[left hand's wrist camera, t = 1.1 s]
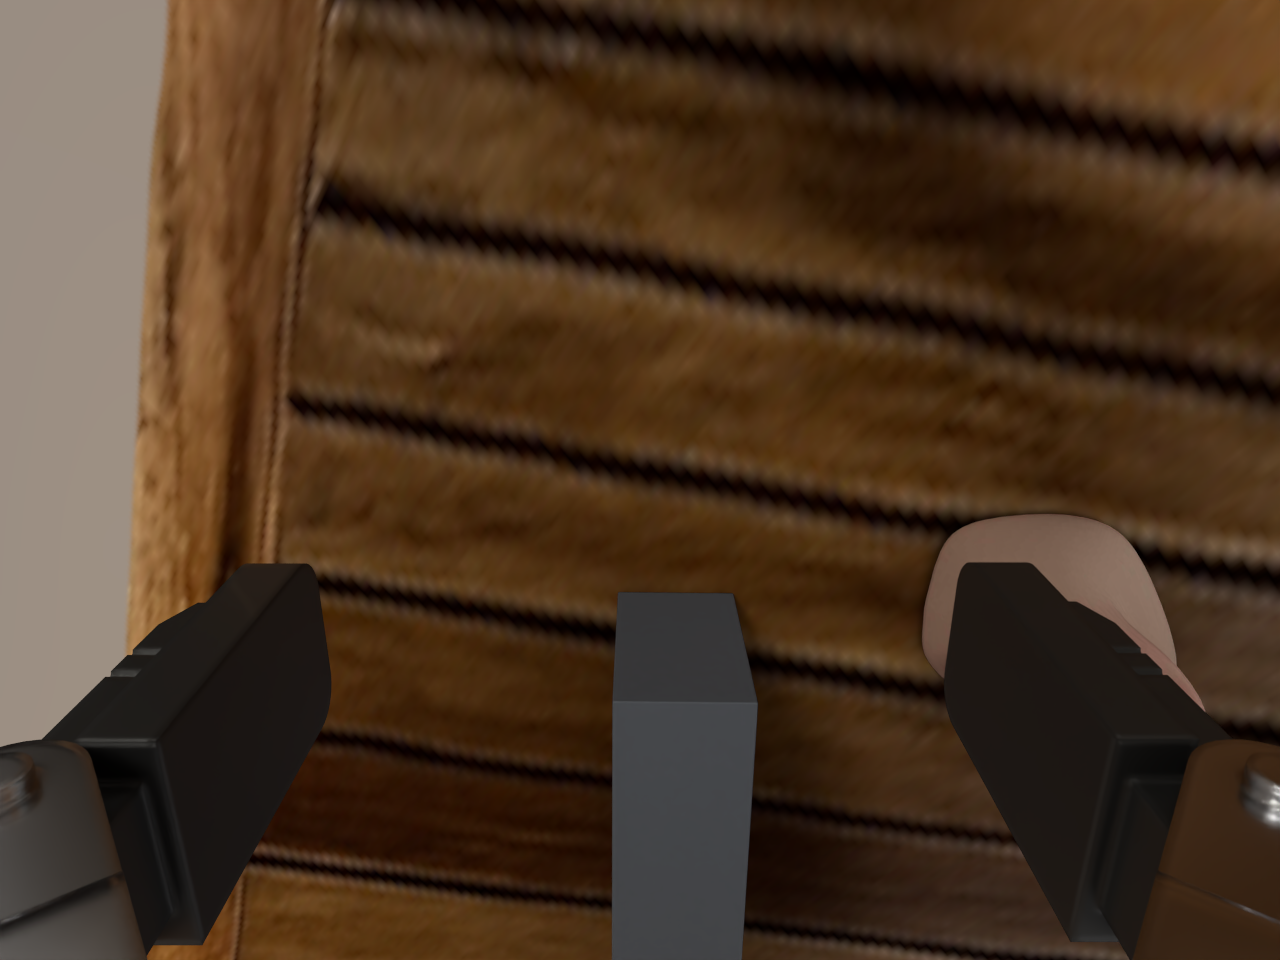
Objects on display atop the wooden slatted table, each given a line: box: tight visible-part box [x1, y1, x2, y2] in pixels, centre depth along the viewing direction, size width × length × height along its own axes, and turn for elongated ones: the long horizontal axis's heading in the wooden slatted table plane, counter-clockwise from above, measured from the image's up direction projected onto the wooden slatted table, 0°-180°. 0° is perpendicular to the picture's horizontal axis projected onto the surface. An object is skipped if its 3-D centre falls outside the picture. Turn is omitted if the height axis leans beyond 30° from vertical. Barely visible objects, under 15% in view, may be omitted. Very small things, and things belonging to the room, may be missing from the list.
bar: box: [612, 592, 758, 960], centre depth 42 cm, size 25×6×9 cm, turn 179°
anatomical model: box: [922, 514, 1205, 711], centre depth 41 cm, size 13×4×12 cm
